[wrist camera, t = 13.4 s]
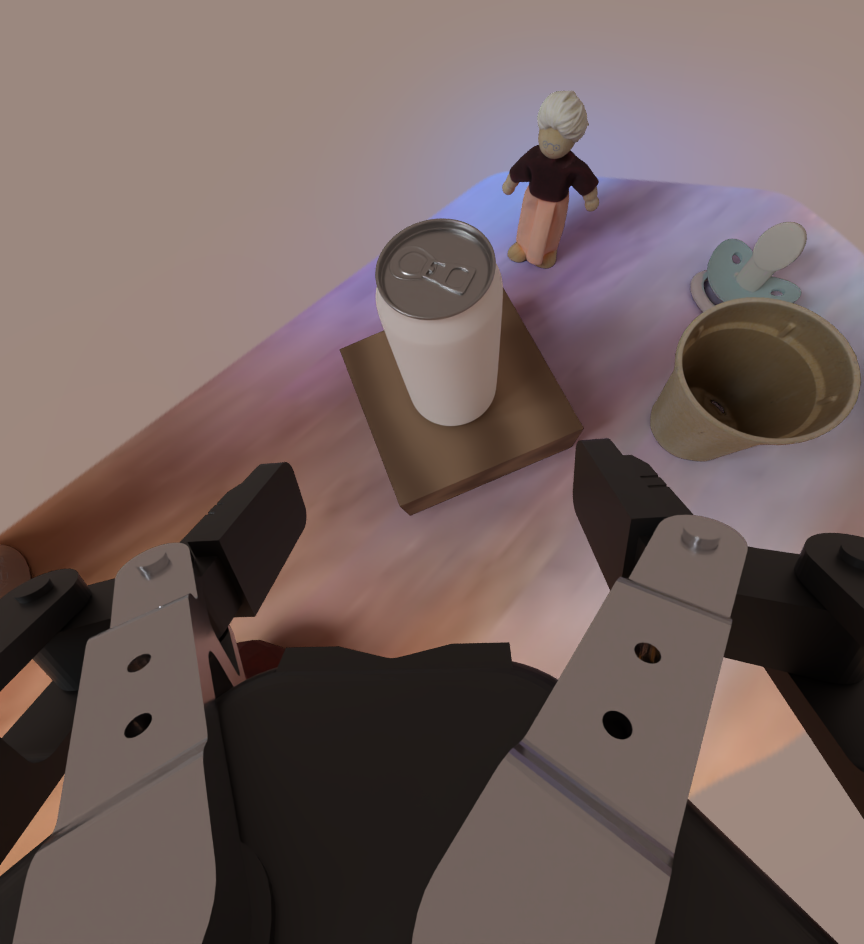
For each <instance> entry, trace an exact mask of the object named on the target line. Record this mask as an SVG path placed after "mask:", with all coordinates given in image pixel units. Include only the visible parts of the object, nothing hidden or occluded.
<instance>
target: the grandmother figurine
mask: <svg viewBox="0 0 864 944" xmlns="http://www.w3.org/2000/svg"><path fill="white" fill-rule="evenodd" d="M537 120H538V126H539V129H540V130H539V137H538V140H539V145H537V146H534V147H533V148H531V149H530V150H529V151H528V152H527V153H526V154H524V155H523V156H522V157H521V158H520V159H519V160H518V161H517V162H516V163H515V165H513V167H512V168H511V169H510V173H509V175H508V177H507V179H506V181H505V182H504V184H503V187H502V189H503V192H504V193H505V194H506V195H510V194H512V193H513V192H514V190H515V187H516V186H517V185H518V183H519V182H529V186H528V187H527V189H526V191H525V194H524V199H523V203H522V208H521V214H520V220H519V225H518V231H517V238H516V241H517V242H516V243H515V244H514V245H512V246H511V247H510V249H509V251H508V257H509V258H510V259H511V260H512V261H515V262H522V261H524V260H526V259H527V260H528V262H530V263H531V264H534V265H536V266H538V267H540V268H550V267H552V266H553V265H554V264H555V261H556V254H557V248H558V245H559V241H560V238H561V235H562V232H563V229H564V225H565V220H566V215H567V210H568V202H569V187H570V186H573V188H574V189H575V190H576V191H577V192H578V193H579V194H581V195H582V196H583V199H584V200H585V208H586V210H587V211H594V210H595V209H596V208H597V207H598V205H599V199H598V197H597V185H598V182H599V181H598V179H597V178H596V176H595V175H594V174H593V172H592V171H591V169H590V168H589V167H588V165H587V164H586V163H585V162H583V161H582V160H580V159H579V158H578V157H577V156H575V154H574V153H573V152H572V151H570V150H571V149H572V147H573V146H574V144H575V142H578V140H579V139H580V138H582V136H583V135H584V133H585V130H586V128H587V126H588V125H589V123H588V121H587V113H586V110H585V108H584V105H583V103H582V102H581V101H580V99H579V98H578V97H577V96H576V94H575V92H574V91H558V92H554V93H552V94H551V95H549V96H548V97H547V98H546V99H545V101H544V102H543V104H542V105H541V108H540V110H539V113H538V118H537Z"/></svg>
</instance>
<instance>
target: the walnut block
mask: <svg viewBox="0 0 864 944" xmlns="http://www.w3.org/2000/svg"><path fill="white" fill-rule="evenodd" d="M340 352H341V354H342V357H343V360H344V362H345V365H346V367H347V370H348V373H349V375H350V378H351V380H352V383H353V386H354V388H355V391H356V393H357V396H358V399H359V401H360V404H361V406H362V409H363V412H364V414H365V417H366V419H367V422H368V425H369V427H370V430H371V432H372V435H373V438H374V440H375V443H376V445H377V448H378V451H379V453H380V456H381V458H382V461H383V464H384V466H385V469H386V471H387V474H388V477H389V479H390V482H391V484H392V487H393V490H394V492H395V495H396V497H397V500H398V503H399V505H400V507H401V508H402V509H403V510H404V511H405V512H407V513H408V514H409V515H413V514H415V513H417V512H420V511H422V510H424V509H427V508H429V507H432V506H434V505H436V504H439V503H441V502H443V501H446V500H448V499H450V498H453V497H455V496H457V495H460V494H462V493H464V492H467V491H469V490H472V489H474V488H476V487H479V486H481V485H483V484H486V483H488V482H490V481H493V480H495V479H497V478H500V477H502V476H504V475H507V474H509V473H512V472H514V471H516V470H519V469H521V468H523V467H526V466H528V465H530V464H533V463H535V462H537V461H540V460H542V459H544V458H547V457H549V456H552V455H554V454H556V453H559V452H561V451H563V450H566V449H568V448H570V447H572V445H573V444H574V442H575V441H576V439H577V438H578V436H579V435H580V433H581V432H582V430H583V429H584V428H583V426H582V424H581V423H580V421H579V419H578V417H577V416H576V414H575V412H574V410H573V409H572V407H571V405H570V403H569V402H568V400H567V398H566V396H565V395H564V393H563V391H562V389H561V388H560V386H559V384H558V382H557V381H556V379H555V377H554V375H553V374H552V372H551V370H550V368H549V367H548V365H547V363H546V361H545V360H544V358H543V356H542V355H541V353H540V351H539V349H538V348H537V346H536V344H535V342H534V341H533V339H532V337H531V335H530V334H529V332H528V330H527V328H526V327H525V325H524V323H523V321H522V320H521V318H520V316H519V314H518V313H517V311H516V309H515V307H514V306H513V304H512V302H511V300H510V299H509V297H508V295H507V293H506V292H505V290H504V288H503V302H502V319H501V334H500V348H499V361H498V374H497V385H496V392H495V396H494V398H493V401H492V403H491V405H490V406H489V408H488V409H487V410H486V411H485V412H484V413H483V414H482V415H481V416H480V417H478V418H477V419H475V420H473V421H471V422H469V423H466V424H463V425H458V426H444V425H439V424H436V423H433V422H431V421H429V420H428V419H426V418H425V417H423V416H422V415H421V414H420V413H419V412H418V411H417V409H416V408H415V406H414V404H413V402H412V400H411V398H410V395H409V393H408V390H407V388H406V385H405V383H404V380H403V378H402V375H401V373H400V370H399V367H398V365H397V362H396V360H395V357H394V355H393V352H392V349H391V347H390V344H389V342H388V339H387V336H386V334H385V331H381V332H379V333H377V334H374V335H372V336H370V337H367V338H365V339H363V340H360V341H358V342H356V343H353V344H351V345H349V346H346V347H344V348H342V349H340Z"/></svg>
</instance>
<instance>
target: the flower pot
mask: <svg viewBox="0 0 864 944" xmlns="http://www.w3.org/2000/svg"><path fill="white" fill-rule="evenodd" d="M860 379H861V377H860V368H859V365H858V362H857V357H856V355H855V353H854V351H853V349H852V348H851V346H850V345H849V342H848V341H847V340H846V338H845V337H844V336H843V335H842V334H841V333H840V332H839V331H838V330H837V329H836V328H835V326H833V325H832V324H830V323H829V322H828V321H826V320H825V319H823V318H822V317H821V316H819V315H817V314H816V313H814V312H812V311H810V310H808V309H806V308H804V307H802V306H799V305H797V304H794V303H790V302H786V301H782V300H778V299H772V298H764V297H746V298H738V299H733V300H729V301H725V302H723V303H720V304H718V305H715V306H713V307H711V308H709V309H708V310H706V311H704V312H703V313H701V314H700V315H699V316H698V317H697V318H696V319H695V320H693V321H692V322H691V324H690V325H689V326H688V327H687V328H686V330H685V331H684V333H683V335H682V336H681V338H680V341H679V343H678V346H677V350H676V354H675V367H674V371H673V373H672V374H671V376H670V378H669V380H668V381H667V383H666V385H665V387H664V389H663V390H662V392H661V394H660V396H659V397H658V399H657V401H656V402H655V404H654V405H653V407H652V412H651V420H650V422H651V430H652V433H653V435H654V437H655V438H656V440H657V441H658V443H659V444H660V445H661V446H662V447H663V448H664V449H665V450H666V451H668V452H669V453H671V454H672V455H674V456H676V457H679V458H683V459H688V460H694V461H708V460H712V459H715V458H718V457H721V456H724V455H727V454H730V453H734V452H737V451H740V450H744V449H747V448H750V447H753V446H757V445H765V444H766V445H786V444H795V443H800V442H804V441H808V440H811V439H814V438H816V437H819V436H821V435H823V434H825V433H827V432H829V431H830V430H832V429H833V428H835V427H836V426H837V425H838V424H840V423H841V422H842V421H843V420H844V419H845V418H846V417H847V416H848V415H849V413H850V412H851V410H852V409H853V406H854V405H855V403H856V401H857V398H858V393H859V391H860V384H861V381H860ZM712 400H713V401H715V402H717V403H719V404H720V405H721V406H722V407H723V410H724V413H722V412H721V411H720V410H719V409H718V408H717V407H716V406H715V405H714V404H713V403H711V401H712Z"/></svg>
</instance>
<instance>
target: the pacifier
mask: <svg viewBox="0 0 864 944" xmlns="http://www.w3.org/2000/svg"><path fill="white" fill-rule="evenodd" d="M806 240H807V234H806V231H805V229H804V228H803V227H802V226H801V225H800V224H798V223H795V222H784V223H780V224H777V225H775V226H773V227H771V228H769V229H768V230H767V231H765V232H764V233H763V234H762V235H761V236H760V238H759V239H758V241H757V242H756V244H755V246H754V249H753V252H752V251H751V249H750V248H749V247H748V246H747V245H746V244H745V243H743V242H742V241H740V240H737V239H728V240H725V241H724V242H722V243H721V244H720V245H719V246H718V247H717V248H716V249H715V251H714V252H713V254H712V256H711V258H710V260H709V263H708V267H707V270H704V271H702V272H700V273H697V274H696V275H695V276H694V277H693V279H692V281H691V294H692V297H693V299H694V301H695V302H696V304H697V306H698V307H699V308H700V309H701V310H702V311H703V312H704V311H706V310H708V309H709V308H711V307H713V306H715V305H714V304H713V303H712V302H711V301H710V300H709V299H708V297H707V296H706V294H705V291H704V285H703V283H704V282H705V281H707V280H708V281H709V284H710V286H711V288H712V290H713V292H714V293H715V294H716V296H717V297H718V298H719V299H720V300H722V301H723V302H725V301H729V300H733V299H738V298H746V297H764V298H772V299H778V300H782V301H786V302H790V303H794V302H795V301H796V300H797V299H798V298H799V297H800V295H801V291H800V288H798V287H797V286H796V285H795V284H793V283H791V282H789V281H786V280H783V279H780V278H776V277H771V276H772V275H773V274H774V273H775V272H776V271H777V270H780V269H783V268H785V267H787V266H788V265H790V264H791V263H792V262H793V261H795V260H796V259H797V258H798V256H799V255H800V254H801V252H802V251H803V249H804V247H805V244H806ZM733 255H737V256H738V257H739V258H740V263H739V264H735V263H734V262H733V261H732V256H733ZM773 291H779V292H782V294H783V295H781V296H774V295H771V292H773Z"/></svg>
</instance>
